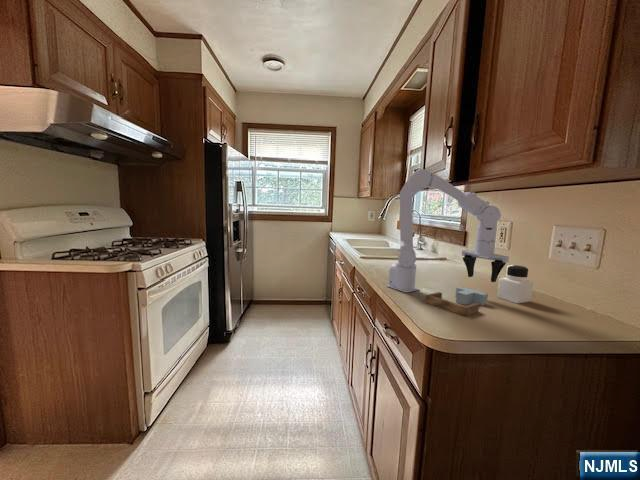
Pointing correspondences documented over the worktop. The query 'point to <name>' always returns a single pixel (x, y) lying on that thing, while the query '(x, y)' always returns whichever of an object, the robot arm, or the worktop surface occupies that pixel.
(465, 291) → the t block
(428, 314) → the worktop surface
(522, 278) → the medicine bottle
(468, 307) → the walnut cradle
